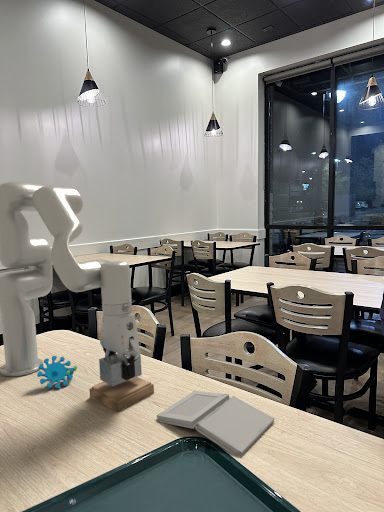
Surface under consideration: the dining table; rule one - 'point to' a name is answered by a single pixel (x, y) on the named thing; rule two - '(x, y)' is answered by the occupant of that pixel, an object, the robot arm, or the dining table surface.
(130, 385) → the stand
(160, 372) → the dining table surface
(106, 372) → the grey rectangular block
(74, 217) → the robot arm
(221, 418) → the grey folded flat piece
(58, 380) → the gear
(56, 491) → the dining table surface
